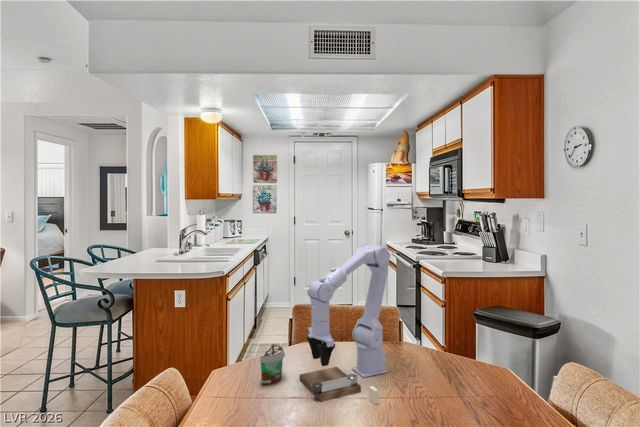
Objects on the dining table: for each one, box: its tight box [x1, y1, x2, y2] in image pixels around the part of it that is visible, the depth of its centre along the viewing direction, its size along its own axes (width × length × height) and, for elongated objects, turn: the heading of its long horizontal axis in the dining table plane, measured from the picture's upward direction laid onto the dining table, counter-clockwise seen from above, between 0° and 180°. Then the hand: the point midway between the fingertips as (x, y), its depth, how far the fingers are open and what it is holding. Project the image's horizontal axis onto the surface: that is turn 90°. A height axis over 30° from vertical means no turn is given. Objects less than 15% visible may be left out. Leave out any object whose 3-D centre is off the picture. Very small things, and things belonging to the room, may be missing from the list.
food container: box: [259, 343, 286, 386], centre depth 137 cm, size 12×6×10 cm, turn 168°
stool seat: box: [298, 366, 362, 403], centre depth 133 cm, size 14×16×2 cm
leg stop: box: [368, 385, 379, 405], centre depth 122 cm, size 1×3×4 cm, turn 26°
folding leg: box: [312, 373, 358, 394], centre depth 127 cm, size 15×3×2 cm, turn 116°
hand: (320, 361), depth 131 cm, fingers open, 6 cm apart
